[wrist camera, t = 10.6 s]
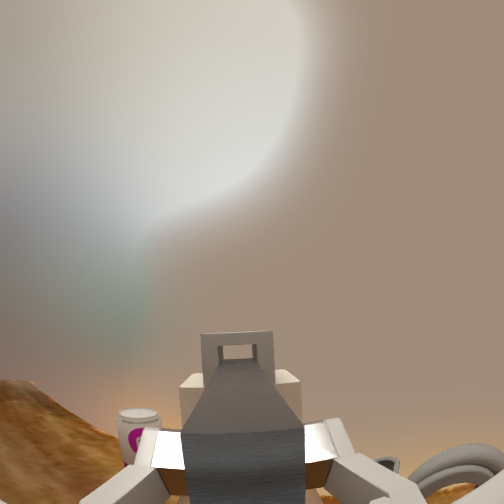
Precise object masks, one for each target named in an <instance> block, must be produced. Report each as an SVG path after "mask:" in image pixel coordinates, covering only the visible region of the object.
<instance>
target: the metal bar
mask: <svg viewBox="0 0 504 504" xmlns="http://www.w3.org/2000/svg"><path fill="white" fill-rule="evenodd" d="M180 440H181V448H182V455H183V462H184V469H185V476H186V482H187V488H188V494H189V500H190V504H305V488H306V474H305V427H304V425H303V424H302V423H301V421H300V420H299V419H298V417H297V416H296V415H295V413H294V412H293V411H292V410H291V408H290V407H289V405H288V404H287V403H286V401H285V400H284V399H283V397H282V396H281V395H280V393H279V392H278V391H277V389H276V388H275V386H274V385H273V384H272V382H271V381H270V380H269V378H268V377H267V375H266V374H265V373H264V371H263V370H262V368H261V367H260V365H259V364H258V363H257V361H256V360H255V358H249V359H225V360H221V361H220V362H219V364H218V366H217V368H216V370H215V372H214V373H213V375H212V377H211V379H210V381H209V382H208V384H207V386H206V388H205V389H204V391H203V393H202V395H201V397H200V398H199V400H198V402H197V404H196V405H195V407H194V409H193V411H192V413H191V414H190V416H189V418H188V420H187V421H186V423H185V425H184V427H183V428H182V430H181V432H180Z"/></svg>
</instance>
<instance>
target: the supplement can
mask: <svg viewBox="0 0 504 504" xmlns="http://www.w3.org/2000/svg"><path fill="white" fill-rule="evenodd" d="M116 421H117V428H118V434H119V441H120V446H121V452H122V457H123V462H124V467H126V466H128V465H129V464H130V465H134V461H135V457H136V454H137V450H138V446H139V443H140V439H141V435H142V432H143V430H144V428H145V427H154V428H163V427H162V419H161V418H160V416H159V415H158V413H157V411H155V410H152V409H148V408H129V409H123V410H121V411H120V412H119V416H118V418H117V420H116Z"/></svg>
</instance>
